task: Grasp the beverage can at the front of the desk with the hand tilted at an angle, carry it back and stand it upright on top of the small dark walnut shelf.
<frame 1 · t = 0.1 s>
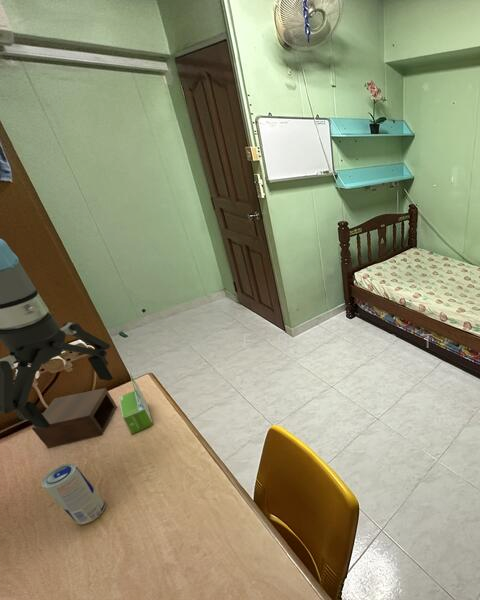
hand: (77, 400, 69), 24 cm above the table, tool pointing down, fingers open, 13 cm apart
ink box: (140, 419, 94), on the table
walnut shelf: (84, 425, 91), on the table
beverage can: (92, 514, 71), on the table
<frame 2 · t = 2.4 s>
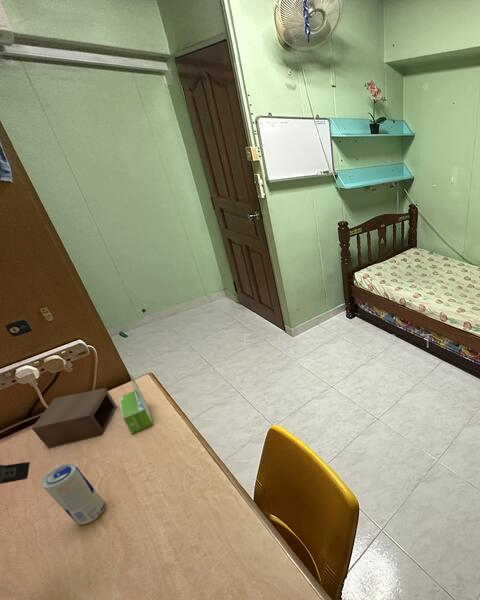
nothing on the table moved.
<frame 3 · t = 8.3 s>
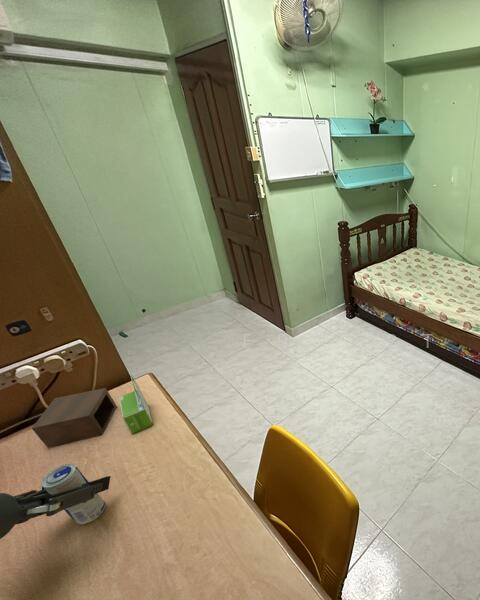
hand: (93, 483, 71), 5 cm above the table, tool tilted 45°, fingers closed on beverage can, 5 cm apart
beverage can: (92, 514, 71), on the table, touching gripper
everything else where it was.
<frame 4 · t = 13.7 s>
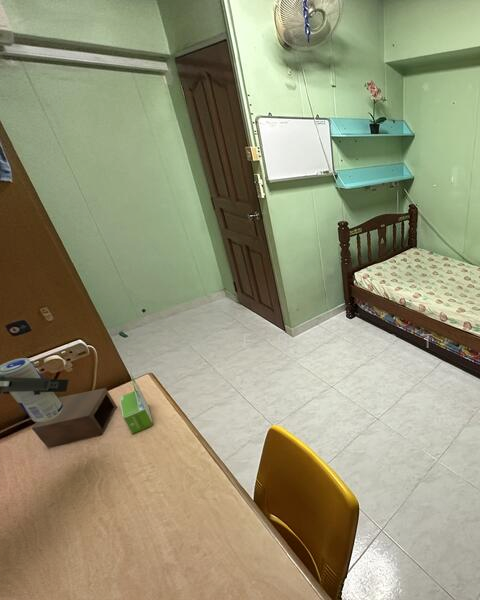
hand: (51, 386, 72), 24 cm above the table, tool tilted 45°, fingers closed on beverage can, 5 cm apart
beverage can: (50, 415, 72), point 18 cm above the table, touching gripper
everything else where it was.
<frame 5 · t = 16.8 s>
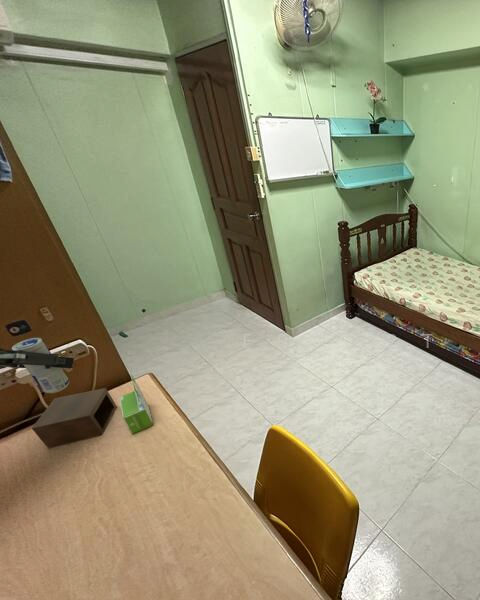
hand: (59, 363, 84), 20 cm above the table, tool tilted 45°, fingers closed on beverage can, 5 cm apart
beverage can: (58, 388, 84), point 15 cm above the table, touching gripper
everything else where it was.
when the fingers open (13 cm above the table, at t = 19.1 s): beverage can stays where it is, resting on walnut shelf.
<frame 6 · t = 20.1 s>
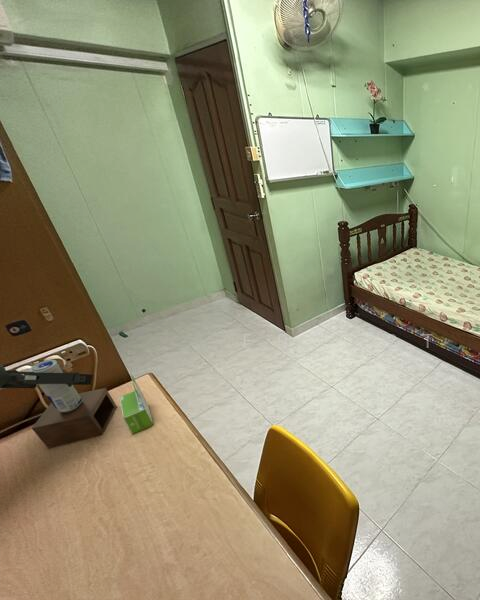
hand: (63, 381, 85), 16 cm above the table, tool tilted 45°, fingers open, 13 cm apart
beverage can: (71, 407, 87), point 8 cm above the table, touching walnut shelf
everything else where it was.
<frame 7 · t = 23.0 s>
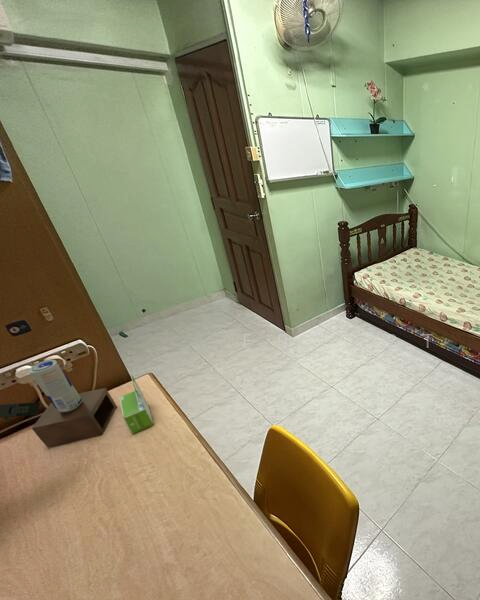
hand: (4, 410, 72), 19 cm above the table, tool tilted 45°, fingers open, 13 cm apart
nothing on the table moved.
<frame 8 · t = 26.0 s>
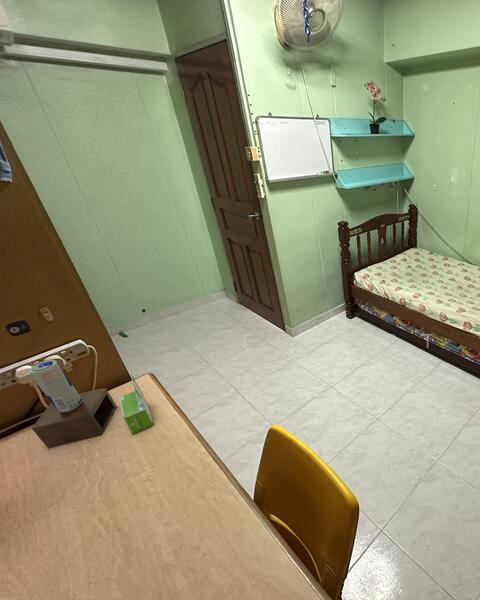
nothing on the table moved.
at the end: beverage can inside the target area on the walnut shelf (0.1 cm from its centre), point 7.8 cm above the walnut shelf's base; beverage can tilted 0°; the gripper is holding nothing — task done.
